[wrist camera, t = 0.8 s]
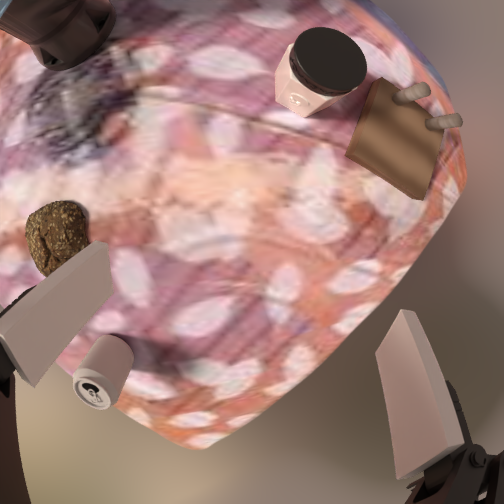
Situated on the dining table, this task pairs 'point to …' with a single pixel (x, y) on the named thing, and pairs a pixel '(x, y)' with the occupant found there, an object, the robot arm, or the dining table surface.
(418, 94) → the peg stand
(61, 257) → the bread roll
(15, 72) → the dining table surface
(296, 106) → the jar
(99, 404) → the can
